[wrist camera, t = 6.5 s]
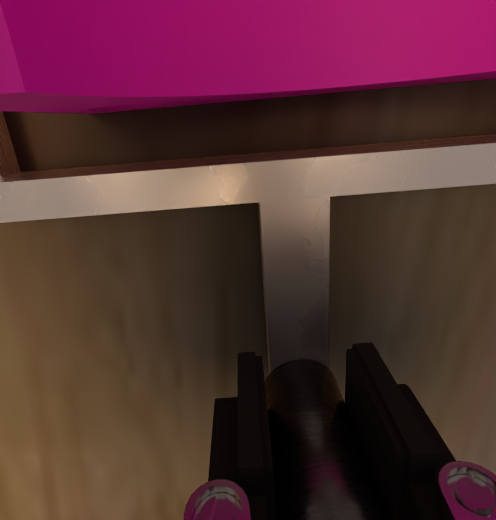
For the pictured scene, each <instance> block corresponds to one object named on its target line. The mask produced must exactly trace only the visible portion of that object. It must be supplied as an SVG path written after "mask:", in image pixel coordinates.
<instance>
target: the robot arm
mask: <svg viewBox="0 0 496 520" xmlns="http://www.w3.org/2000/svg"><path fill="white" fill-rule="evenodd" d="M345 406H346V408H347V411H348V414H349V416H350V419H351V422H352V424H353V427H354V430H355V432H356V435H357V438H358V440H359V443H360V446H361V448H362V451H363V454H364V456H365V459H366V462H367V464H368V467H369V470H370V472H371V475H372V478H373V480H374V483H375V486H376V488H377V491H378V494H379V496H380V499H381V502H382V505H383V507H384V510H385V513H386V515H387V518H388V520H496V475H495V474H493V473H492V472H491V471H489V470H487V469H485V468H483V467H482V466H479V465H476V464H473V463H470V462H463V461H456V460H455V458H454V457H453V455H452V454H451V452H450V450H449V449H448V447H447V446H446V444H445V443H444V441H443V439H442V438H441V436H440V435H439V433H438V432H437V430H436V428H435V427H434V425H433V424H432V422H431V421H430V419H429V417H428V416H427V414H426V413H425V411H424V409H423V408H422V406H421V405H420V403H419V402H418V400H417V398H416V397H415V395H414V394H413V392H412V391H411V389H410V388H409V387H408V386H407V385H406V384H398V385H397V383H396V382H395V380H394V378H393V377H392V375H391V373H390V372H389V370H388V368H387V367H386V365H385V363H384V361H383V360H382V358H381V356H380V355H379V353H378V351H377V350H376V348H375V346H374V345H373V344H372V343H359V344H353V346H352V349H347V353H346V384H345ZM184 520H277V517H276V503H275V488H274V474H273V461H272V451H271V441H270V431H269V421H268V411H267V401H266V391H265V381H264V371H263V361H262V356H255V352H244V353H238V397H231V398H218V399H215V405H214V417H213V429H212V441H211V454H210V466H209V478H208V482H207V483H205V484H203V485H202V486H200V487H198V489H197V490H196V491H195V492H194V493H193V494H192V495H191V496H190V498H189V500H188V502H187V504H186V508H185V512H184Z"/></svg>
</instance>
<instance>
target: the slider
mask: <svg viewBox="0 0 496 520" xmlns="http://www.w3.org/2000/svg"><path fill="white" fill-rule="evenodd" d="M484 184H496V134H486V135H473V136H461V137H448V138H436V139H423V140H411V141H398V142H386V143H373V144H361V145H348V146H336V147H323V148H311V149H298V150H286V151H273V152H261V153H248V154H236V155H223V156H211V157H198V158H186V159H173V160H161V161H148V162H136V163H123V164H111V165H98V166H86V167H73V168H61V169H48V170H36V171H23V172H20V168H19V165H18V162H17V158H16V155H15V152H14V148H13V145H12V142H11V138H10V135H9V132H8V128H7V125H6V122H5V118H4V115H3V112H2V111H0V223H5V222H17V221H30V220H42V219H55V218H68V217H80V216H93V215H105V214H118V213H131V212H143V211H156V210H168V209H181V208H194V207H206V206H219V205H231V204H244V203H257V202H258V213H259V228H260V244H261V259H262V274H263V289H264V305H265V320H266V335H267V351H268V366H269V375H268V377H267V378H266V380H265V391H266V401H267V411H268V421H269V431H270V441H271V451H272V461H273V474H274V488H275V503H276V517H277V520H388V518H387V515H386V513H385V510H384V507H383V505H382V502H381V499H380V496H379V494H378V491H377V488H376V486H375V483H374V480H373V478H372V475H371V472H370V470H369V467H368V464H367V462H366V459H365V456H364V454H363V451H362V448H361V446H360V443H359V440H358V438H357V435H356V432H355V430H354V427H353V424H352V422H351V419H350V416H349V414H348V411H347V408H346V406H345V403H344V400H343V397H342V395H341V392H340V389H339V387H338V384H337V381H336V379H335V376H334V375H333V373H332V372H331V370H330V369H329V368H328V366H329V257H330V197H332V196H345V195H357V194H370V193H383V192H395V191H408V190H421V189H433V188H446V187H458V186H471V185H484Z"/></svg>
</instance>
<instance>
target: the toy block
mask: <svg viewBox="0 0 496 520" xmlns="http://www.w3.org/2000/svg"><path fill="white" fill-rule="evenodd" d="M485 79H496V0H0V111H12V112H45V113H77V114H95V113H107V112H118V111H130V110H141V109H153V108H164V107H176V106H187V105H198V104H210V103H221V102H233V101H244V100H256V99H267V98H279V97H290V96H301V95H313V94H324V93H336V92H347V91H359V90H370V89H382V88H393V87H404V86H416V85H427V84H439V83H450V82H462V81H473V80H485Z"/></svg>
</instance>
